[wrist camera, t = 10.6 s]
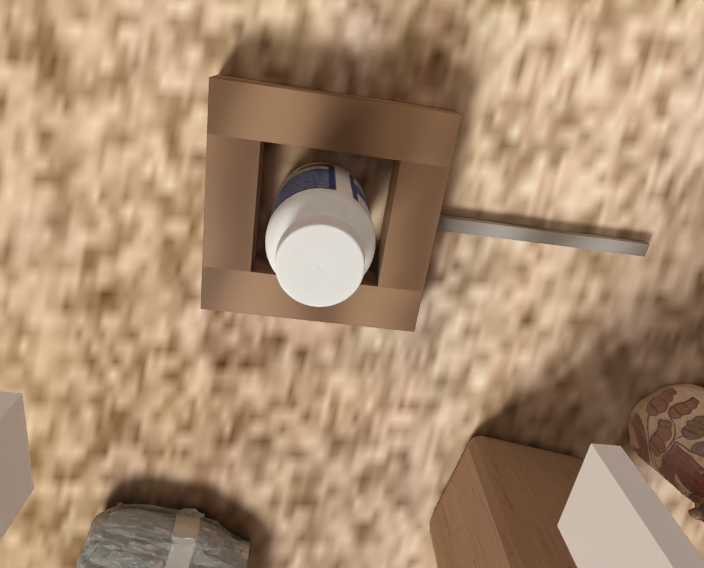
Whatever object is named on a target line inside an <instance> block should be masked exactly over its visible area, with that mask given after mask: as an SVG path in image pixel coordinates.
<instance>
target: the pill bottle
mask: <svg viewBox="0 0 704 568" xmlns="http://www.w3.org/2000/svg"><path fill="white" fill-rule="evenodd" d="M375 244H376V243H375V231H374V227H373V224H372V220H371V216H370V212H369V209H368V205H367V201H366V197H365V194H364V192H363V190H362V187H361V186H360V184H359V182H358V181H357V180H356V178H355V177H354V176H353V175H352V174H351V173H350V172H348V171H347V170H345V169H344V168H342V167H340V166H337V165H334V164H331V163H326V162H315V163H309V164H306V165H303V166H301V167H299V168H297V169H296V170H294V171H293V172H292V173H291V174H290V175H289V176H288V177H287V178H286V179H285V180H284V182H283V183H282V185H281V187H280V189H279V191H278V194H277V197H276V201H275V204H274V207H273V210H272V214H271V217H270V220H269V223H268V226H267V231H266V236H265V247H266V254H267V257H268V260H269V263H270V265H271V267H272V269H273V270H274V272H275V273H276V276H277V279H278V281H279V283H280V285H281V287H282V288H283V290H284V291H285V292H286V293H287V294H288V295H289V296H291V297H292V298H293V299H295V300H296V301H298V302H300V303H303V304H305V305H309V306H315V307H324V306H331V305H334V304H337V303H340V302H342V301H344V300H345V299H347V298H348V297H349V296H351V295H352V294H353V293H354V292H355V291H356V290H357V288H358V287H359V285H360V283H361V281H362V279H363V276H364V274H365V273H366V272H367V270H368V268H369V267H370V265H371V262H372V260H373V257H374V253H375Z"/></svg>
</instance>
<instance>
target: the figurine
mask: <svg viewBox="0 0 704 568" xmlns="http://www.w3.org/2000/svg"><path fill="white" fill-rule="evenodd" d="M628 429H629V435H630V441H629V444H630V446H631V448H632V449H633V450H634V451H635V452H637V454H638V455H639V456H640V457H641V458H642V459H643V460H644V461H645V462H646V463H648V464H649V465H650V466H651V467H653V468H654V469H655V470H656V471H657V472H658V473H659V474H661V475H662V476H663V477H664V478H665V479H666V480H668V481H669V482H670V483H671V484H672V485H673V486H674V487H676V488H677V489H678V490H679V491H680V492H681V493H682V494H683V495H685V496H686V497H687V498H689V499H690V500H692V502H694V503H695V507H694V508H693V509H690V510H689V514H690V515H691V516H692V517H693V518H694V519H697V520H701V521H703V522H704V388H703V387H701V386H698V385H693V384H687V383H684V384H674V385H669V386H665V387H661V388H660V389H658V390H656V391H655V392H653V393H651V394H650V395H648V396H646V397H645V398H643V399H642V400H641V401H640V402H639V403H638V404H637V405H636V406H635V407H634V408H633V410H632V411H631V413H630V420H629V424H628Z"/></svg>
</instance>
